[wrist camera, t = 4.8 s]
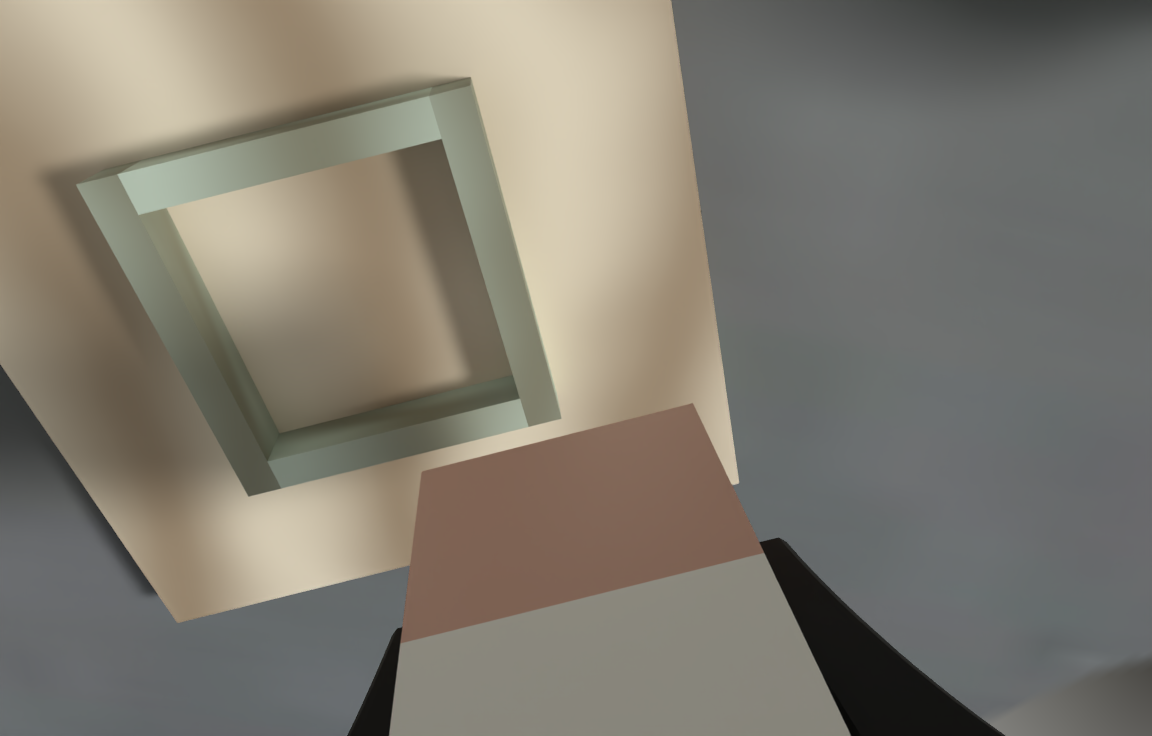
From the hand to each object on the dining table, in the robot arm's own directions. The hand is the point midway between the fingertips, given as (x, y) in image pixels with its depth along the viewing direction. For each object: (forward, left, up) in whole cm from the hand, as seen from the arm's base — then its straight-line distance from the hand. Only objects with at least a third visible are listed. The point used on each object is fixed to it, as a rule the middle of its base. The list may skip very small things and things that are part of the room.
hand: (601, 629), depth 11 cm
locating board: (-4, +3, -9) cm, 11 cm away
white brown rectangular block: (0, 0, -2) cm, 2 cm away
